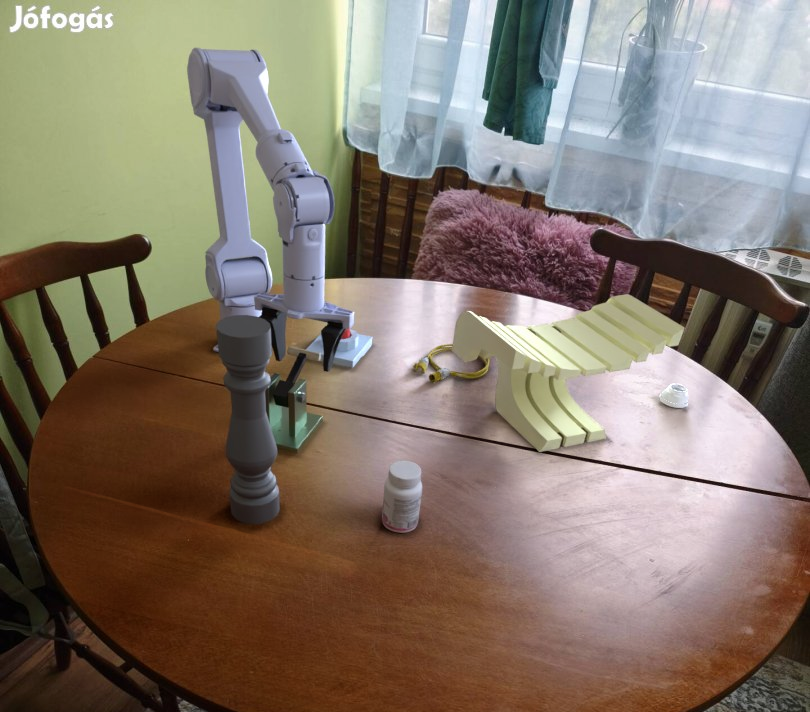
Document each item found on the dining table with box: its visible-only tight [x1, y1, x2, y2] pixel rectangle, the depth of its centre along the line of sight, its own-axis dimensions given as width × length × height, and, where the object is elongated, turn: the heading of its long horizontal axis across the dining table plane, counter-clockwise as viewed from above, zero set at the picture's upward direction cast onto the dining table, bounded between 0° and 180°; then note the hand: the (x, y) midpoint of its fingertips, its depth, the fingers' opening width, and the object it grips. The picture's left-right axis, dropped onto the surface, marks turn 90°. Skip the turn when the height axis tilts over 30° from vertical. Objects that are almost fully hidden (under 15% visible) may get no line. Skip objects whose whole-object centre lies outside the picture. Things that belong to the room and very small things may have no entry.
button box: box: [305, 327, 373, 369], centre depth 125 cm, size 11×9×4 cm
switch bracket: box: [265, 372, 324, 454], centre depth 101 cm, size 10×8×8 cm
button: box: [341, 329, 350, 339], centre depth 123 cm, size 4×4×2 cm
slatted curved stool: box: [451, 294, 686, 453], centre depth 108 cm, size 30×16×18 cm, turn 115°
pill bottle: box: [381, 460, 423, 534], centre depth 87 cm, size 5×5×8 cm
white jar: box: [658, 383, 690, 409], centre depth 122 cm, size 5×3×5 cm
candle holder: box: [215, 315, 281, 525], centre depth 81 cm, size 6×6×25 cm
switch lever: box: [273, 346, 321, 408], centre depth 101 cm, size 10×5×2 cm, turn 164°
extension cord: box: [413, 343, 490, 384], centre depth 125 cm, size 12×16×2 cm
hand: (304, 363), depth 104 cm, fingers open, 7 cm apart
